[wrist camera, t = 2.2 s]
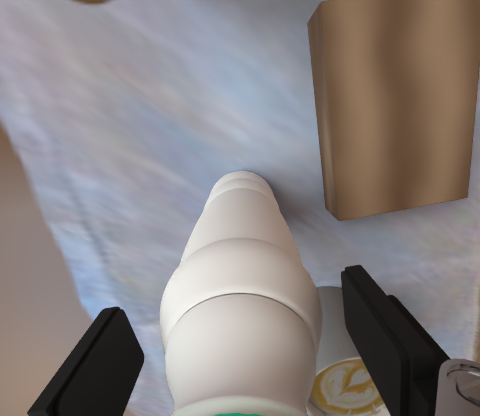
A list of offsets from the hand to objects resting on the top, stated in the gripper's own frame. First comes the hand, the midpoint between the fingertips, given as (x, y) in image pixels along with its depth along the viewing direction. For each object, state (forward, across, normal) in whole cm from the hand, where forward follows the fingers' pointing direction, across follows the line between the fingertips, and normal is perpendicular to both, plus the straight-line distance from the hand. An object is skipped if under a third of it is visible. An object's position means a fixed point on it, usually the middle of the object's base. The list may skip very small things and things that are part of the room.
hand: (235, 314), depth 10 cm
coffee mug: (+18, -6, +19) cm, 27 cm away
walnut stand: (+18, -15, -5) cm, 24 cm away
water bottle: (+18, 0, +1) cm, 18 cm away
